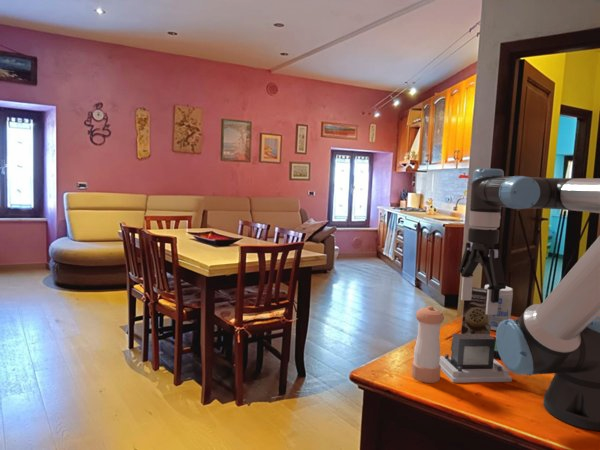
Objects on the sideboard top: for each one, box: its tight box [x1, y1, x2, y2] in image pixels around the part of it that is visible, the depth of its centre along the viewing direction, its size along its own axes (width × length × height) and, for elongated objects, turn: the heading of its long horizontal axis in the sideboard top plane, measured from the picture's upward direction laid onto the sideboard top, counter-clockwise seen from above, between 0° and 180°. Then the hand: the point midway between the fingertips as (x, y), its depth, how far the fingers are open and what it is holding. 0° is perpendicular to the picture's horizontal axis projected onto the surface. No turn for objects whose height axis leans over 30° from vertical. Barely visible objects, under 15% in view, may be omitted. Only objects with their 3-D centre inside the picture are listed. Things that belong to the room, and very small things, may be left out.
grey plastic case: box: [450, 333, 496, 369], centre depth 123 cm, size 4×10×9 cm, turn 95°
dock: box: [439, 354, 513, 384], centre depth 123 cm, size 12×16×3 cm
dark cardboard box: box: [460, 286, 492, 336], centre depth 151 cm, size 9×6×16 cm
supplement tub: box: [483, 283, 514, 331], centre depth 161 cm, size 10×10×15 cm
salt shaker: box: [411, 305, 445, 384], centre depth 119 cm, size 7×7×19 cm
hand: (478, 306), depth 121 cm, fingers open, 13 cm apart
